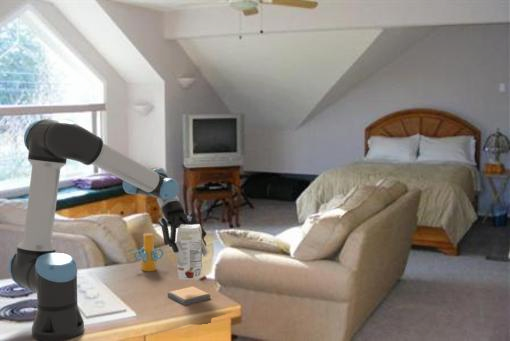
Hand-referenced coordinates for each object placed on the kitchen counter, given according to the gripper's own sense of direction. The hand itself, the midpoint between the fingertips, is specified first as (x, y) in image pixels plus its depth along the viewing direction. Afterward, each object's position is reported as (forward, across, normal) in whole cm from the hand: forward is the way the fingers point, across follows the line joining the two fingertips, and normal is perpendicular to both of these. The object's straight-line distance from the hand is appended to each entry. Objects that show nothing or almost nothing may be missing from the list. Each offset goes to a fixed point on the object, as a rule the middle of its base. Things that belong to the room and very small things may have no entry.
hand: (194, 256), depth 210 cm
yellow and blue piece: (-18, -5, -41) cm, 45 cm away
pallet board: (+9, 0, -13) cm, 16 cm away
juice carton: (+4, 0, -8) cm, 9 cm away
